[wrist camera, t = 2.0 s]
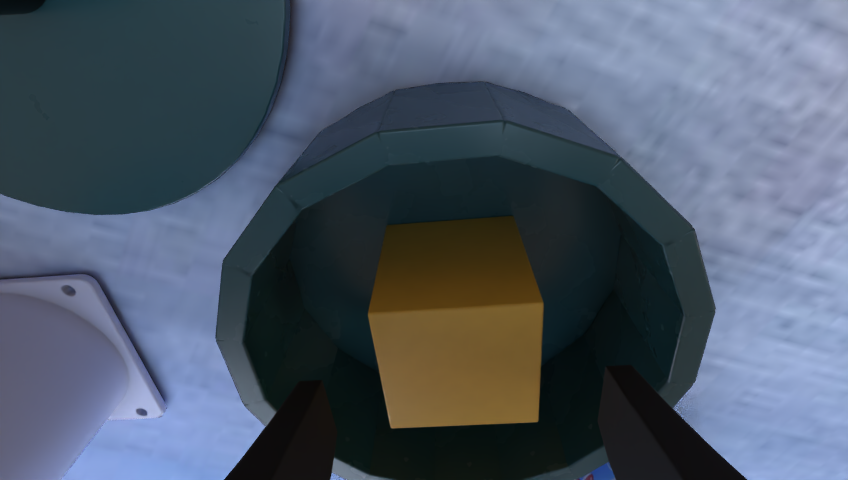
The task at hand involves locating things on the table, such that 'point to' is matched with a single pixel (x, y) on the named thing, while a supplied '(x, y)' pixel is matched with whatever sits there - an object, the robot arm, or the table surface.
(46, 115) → the lid
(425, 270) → the ochre block
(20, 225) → the table surface
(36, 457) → the robot arm
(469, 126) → the pot
